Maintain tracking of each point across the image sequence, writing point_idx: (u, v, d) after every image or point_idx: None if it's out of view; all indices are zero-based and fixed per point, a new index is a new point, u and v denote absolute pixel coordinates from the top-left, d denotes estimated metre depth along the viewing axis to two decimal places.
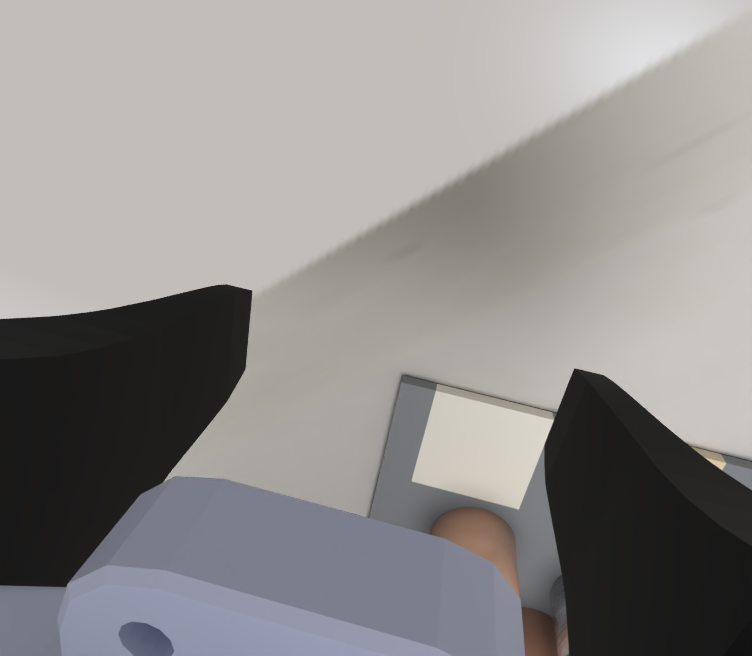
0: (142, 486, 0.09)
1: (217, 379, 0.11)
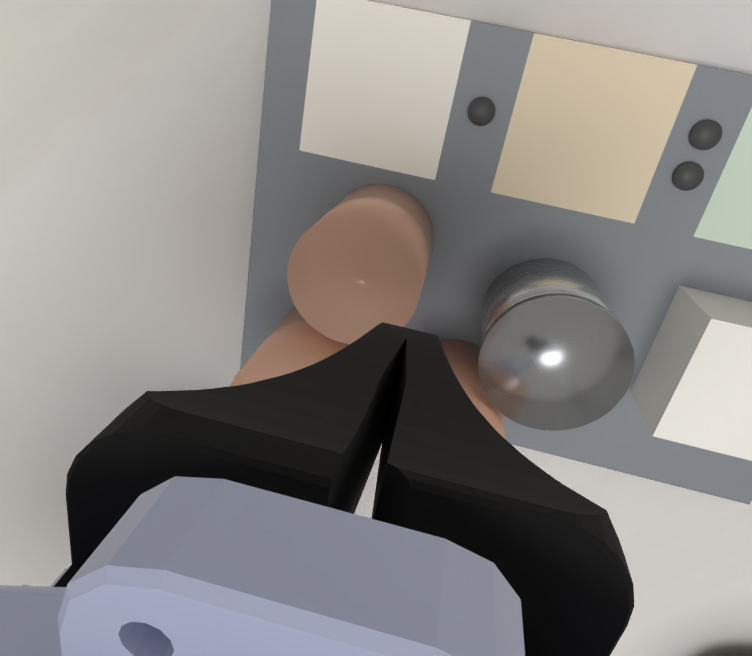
0: None
1: (384, 421, 0.11)
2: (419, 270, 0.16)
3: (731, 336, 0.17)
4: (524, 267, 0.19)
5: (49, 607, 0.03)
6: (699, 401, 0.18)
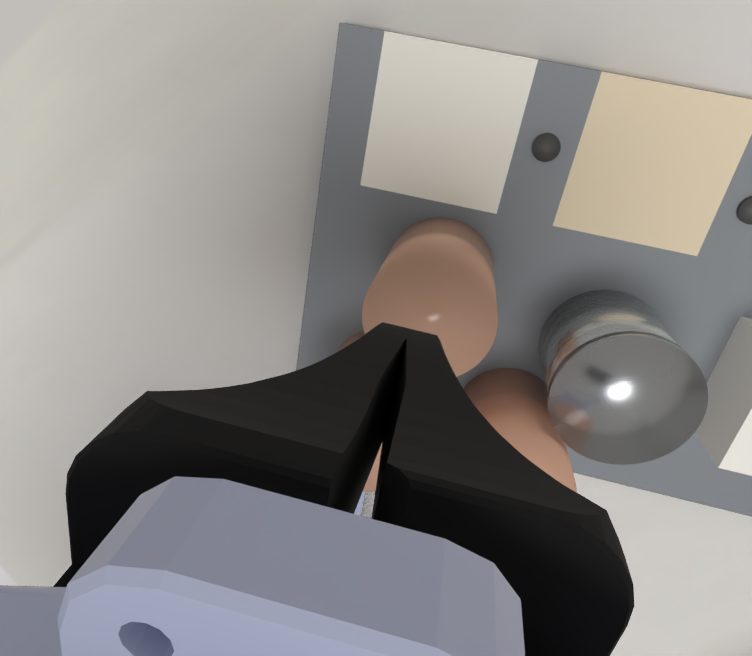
0: None
1: (384, 421, 0.11)
2: (496, 307, 0.16)
3: None
4: (586, 299, 0.20)
5: (49, 607, 0.03)
6: None
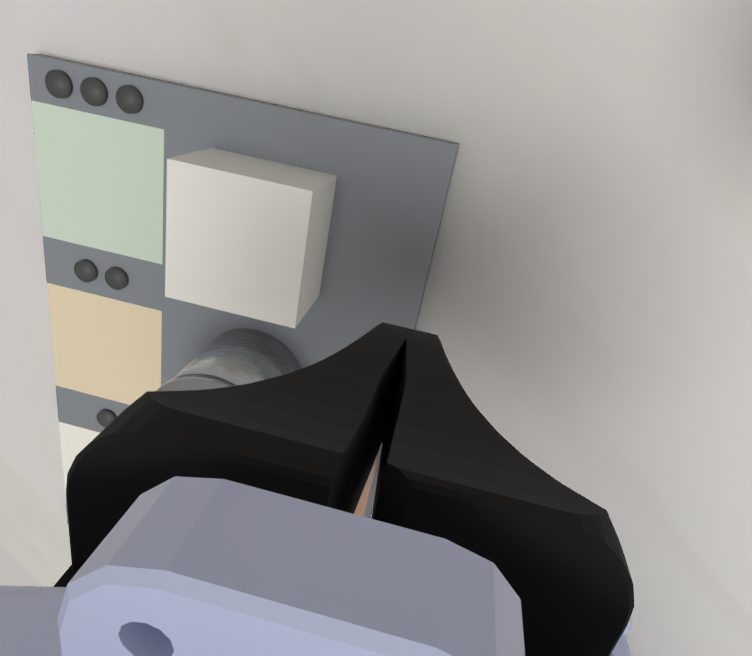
0: None
1: (384, 422, 0.11)
2: None
3: (177, 277, 0.18)
4: None
5: (49, 607, 0.03)
6: (247, 293, 0.18)
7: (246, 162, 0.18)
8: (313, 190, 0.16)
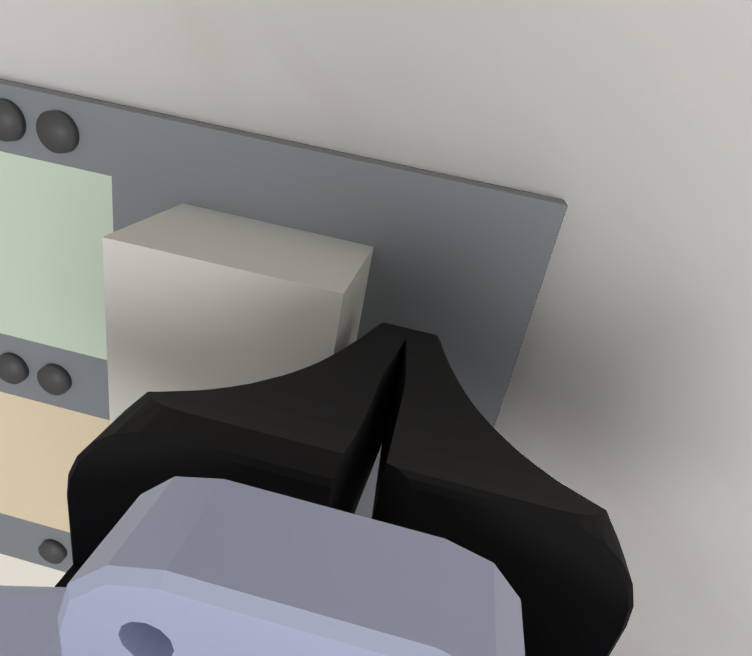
0: None
1: (384, 422, 0.11)
2: None
3: None
4: None
5: (49, 607, 0.03)
6: None
7: (234, 232, 0.11)
8: (344, 290, 0.10)
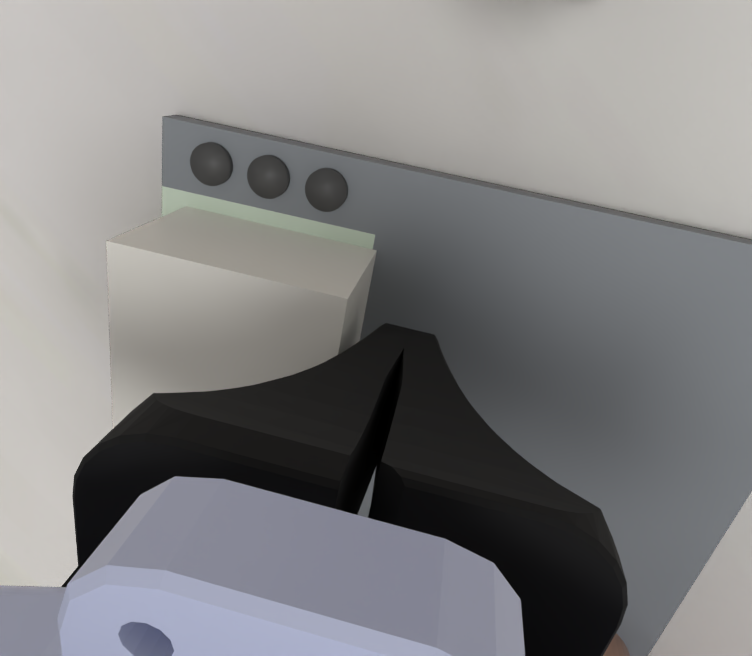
0: None
1: None
2: None
3: None
4: None
5: (49, 607, 0.03)
6: None
7: (238, 235, 0.11)
8: (348, 295, 0.10)
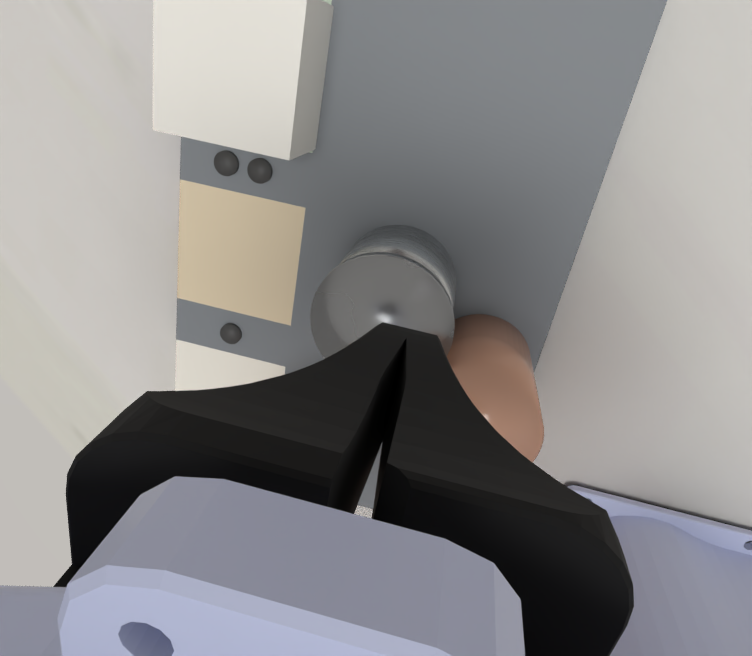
0: None
1: (384, 421, 0.11)
2: None
3: (165, 106, 0.17)
4: None
5: (49, 607, 0.03)
6: (239, 120, 0.17)
7: None
8: None
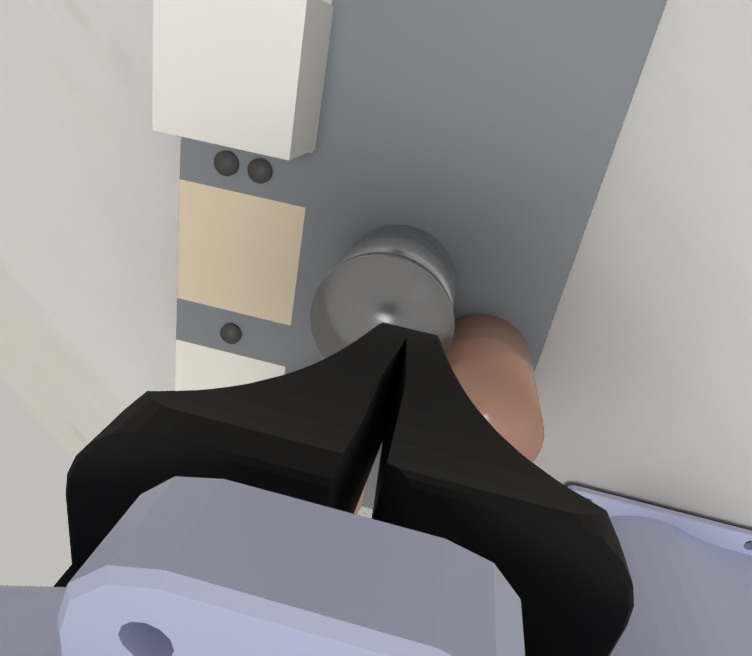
0: None
1: (384, 421, 0.11)
2: None
3: (165, 106, 0.17)
4: None
5: (49, 607, 0.03)
6: (239, 120, 0.17)
7: None
8: None
